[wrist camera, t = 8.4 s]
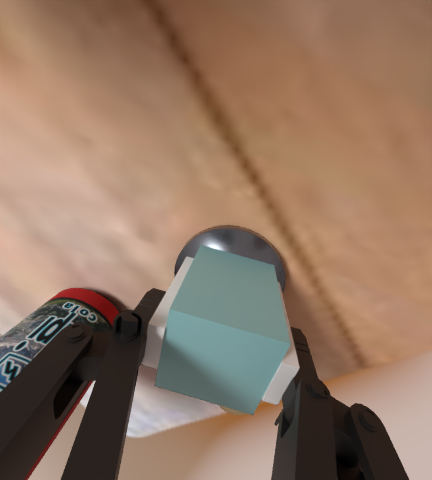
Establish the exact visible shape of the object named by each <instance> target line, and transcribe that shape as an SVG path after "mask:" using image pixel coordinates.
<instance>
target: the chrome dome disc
mask: <svg viewBox="0 0 432 480" xmlns="http://www.w3.org/2000/svg"><path fill="white" fill-rule="evenodd" d="M200 245H204V246H207V247H211V248H214V249H218V250H222V251H225V252H229V253H232V254H236V255H239V256H243V257H247V258H250V259H254V260H257V261H261V262H265V263H268V264H272V265H274V267H275V272H276V277H277V281H278V282H280V286H281V290H282V294H283V291H284V286H285V274H284V269H283V265H282V262H281V259H280V257H279V254H278V253H277V251H276V250H275V248H274V247H273V246H272V244H271V243H270V242H269V241H268V240H266V239H265V238H264V237H263V236H261V235H260V234H258V233H256V232H254V231H252V230H249V229H247V228H243V227H239V226H230V225H226V226H216V227H212V228H209V229H206V230H204V231H202V232H200V233H198V234H197V235H195V236H194V237H193V238H191V239H190V240H189V241H188V243H187V244H186V245H185V246H184V248H183V250H182V251H181V253H180V254H179V256H178V259H177V261H176V265H175V272H174V273H175V276H176V274H177V272H178V271H179V269H180V267H181V265H182V264H183V262H184V260H185V258H186V257H191V258H194V257H195V255H196V253H197V251H198V249H199V247H200Z"/></svg>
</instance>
